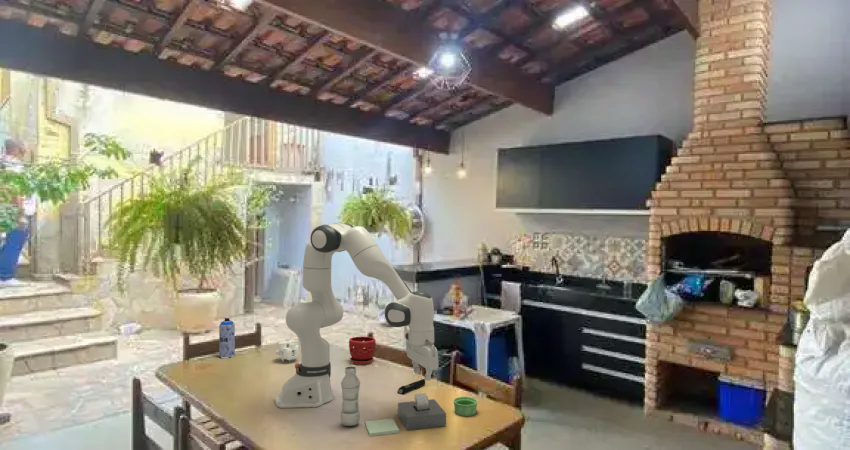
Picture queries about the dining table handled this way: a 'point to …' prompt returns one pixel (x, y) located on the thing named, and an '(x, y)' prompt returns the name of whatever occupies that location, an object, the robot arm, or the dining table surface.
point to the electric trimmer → (411, 387)
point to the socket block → (421, 415)
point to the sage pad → (381, 427)
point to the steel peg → (421, 402)
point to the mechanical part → (288, 349)
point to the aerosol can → (227, 338)
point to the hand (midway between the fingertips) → (422, 376)
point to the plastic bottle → (350, 397)
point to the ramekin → (465, 406)
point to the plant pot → (362, 349)
